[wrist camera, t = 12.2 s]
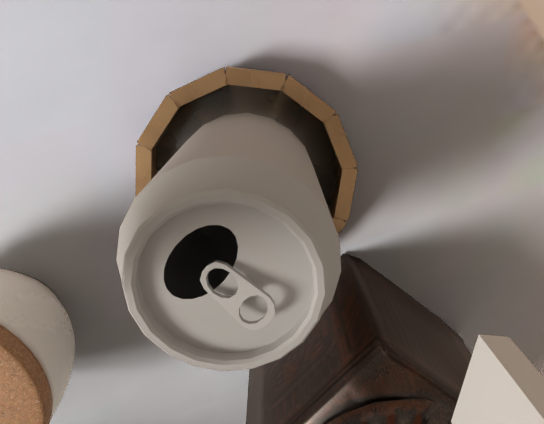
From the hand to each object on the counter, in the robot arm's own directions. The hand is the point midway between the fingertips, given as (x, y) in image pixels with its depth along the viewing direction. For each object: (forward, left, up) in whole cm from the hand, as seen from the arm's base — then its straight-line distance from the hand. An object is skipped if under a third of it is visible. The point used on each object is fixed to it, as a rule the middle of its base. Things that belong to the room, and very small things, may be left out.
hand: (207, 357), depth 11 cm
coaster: (0, 0, -16) cm, 16 cm away
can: (0, 0, -15) cm, 15 cm away
